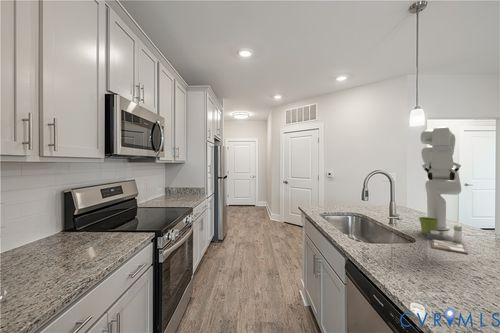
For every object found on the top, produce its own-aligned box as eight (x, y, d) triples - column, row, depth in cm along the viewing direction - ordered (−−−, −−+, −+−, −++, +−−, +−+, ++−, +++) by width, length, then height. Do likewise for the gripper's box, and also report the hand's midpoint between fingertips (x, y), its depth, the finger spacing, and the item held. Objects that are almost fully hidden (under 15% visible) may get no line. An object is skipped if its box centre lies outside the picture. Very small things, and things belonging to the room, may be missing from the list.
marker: (453, 240, 123) (453, 225, 123) (461, 241, 121) (461, 226, 121) (454, 242, 120) (454, 226, 120) (462, 243, 118) (462, 227, 118)
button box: (427, 235, 131) (427, 230, 131) (442, 238, 127) (442, 233, 127) (426, 238, 126) (426, 233, 126) (443, 241, 122) (443, 236, 122)
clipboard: (431, 239, 124) (431, 237, 124) (463, 244, 116) (463, 242, 116) (431, 248, 112) (431, 245, 112) (467, 254, 103) (467, 251, 103)
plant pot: (442, 235, 131) (442, 220, 131) (426, 235, 132) (426, 220, 132) (430, 230, 141) (430, 217, 141) (414, 231, 141) (414, 217, 141)
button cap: (430, 234, 129) (430, 229, 129) (439, 235, 127) (439, 231, 127) (430, 235, 126) (430, 231, 126) (439, 237, 124) (439, 232, 124)
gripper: (456, 149, 127) (457, 180, 127) (419, 150, 134) (420, 179, 133) (463, 148, 120) (464, 180, 120) (424, 149, 126) (424, 179, 126)
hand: (441, 180), depth 127 cm, fingers open, 9 cm apart
